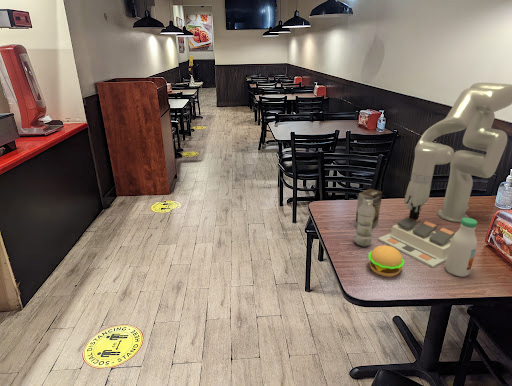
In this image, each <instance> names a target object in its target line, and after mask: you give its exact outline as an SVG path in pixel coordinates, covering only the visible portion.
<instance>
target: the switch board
mask: <svg viewBox="0 0 512 386" xmlns="http://www.w3.org/2000/svg"><path fill="white" fill-rule="evenodd" d="M397 224H398V223H396V224H394V225H392V227H391V230H390V231H391V232H389V233H387V234H385V235H382V236H380V237H378V238H377V241H379V242H381V243H383V244H384V245H387V246H391V247H394V248H395V249H397V250H398V251H399V252H400V253H401V254H404V255H407V256H408V257H410V258H412V259H414V260H415V261H418V262H420V263H422V264H424V265H426V266H428V267H430V268H432V269H433V268H436V267H438V266H439V265H441V264H443V263H446V259H447V255H448V251H449V247H450V243H451V240H452V238H451V239H450V240H448V241H447V242H446V243H445V244H444V245H442V246H441V245H439V244H437V243H434V242H432V241H430V240H429V238H430V237H431V236H432V235H433V234H435V233H436V232H437V231H435V230H434V231H433V232H431V233H430V234H429V235H428V236H426V237H425V238H423V237H421V236H419V235H417V234H414V233H413V230H414V229H415V228H417V227H418V226H419V225H420V224H417V225H415V226H414V227H412V228H410V229H409V230H407V229H405V228H403V227H401V226H398V225H397Z"/></svg>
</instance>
